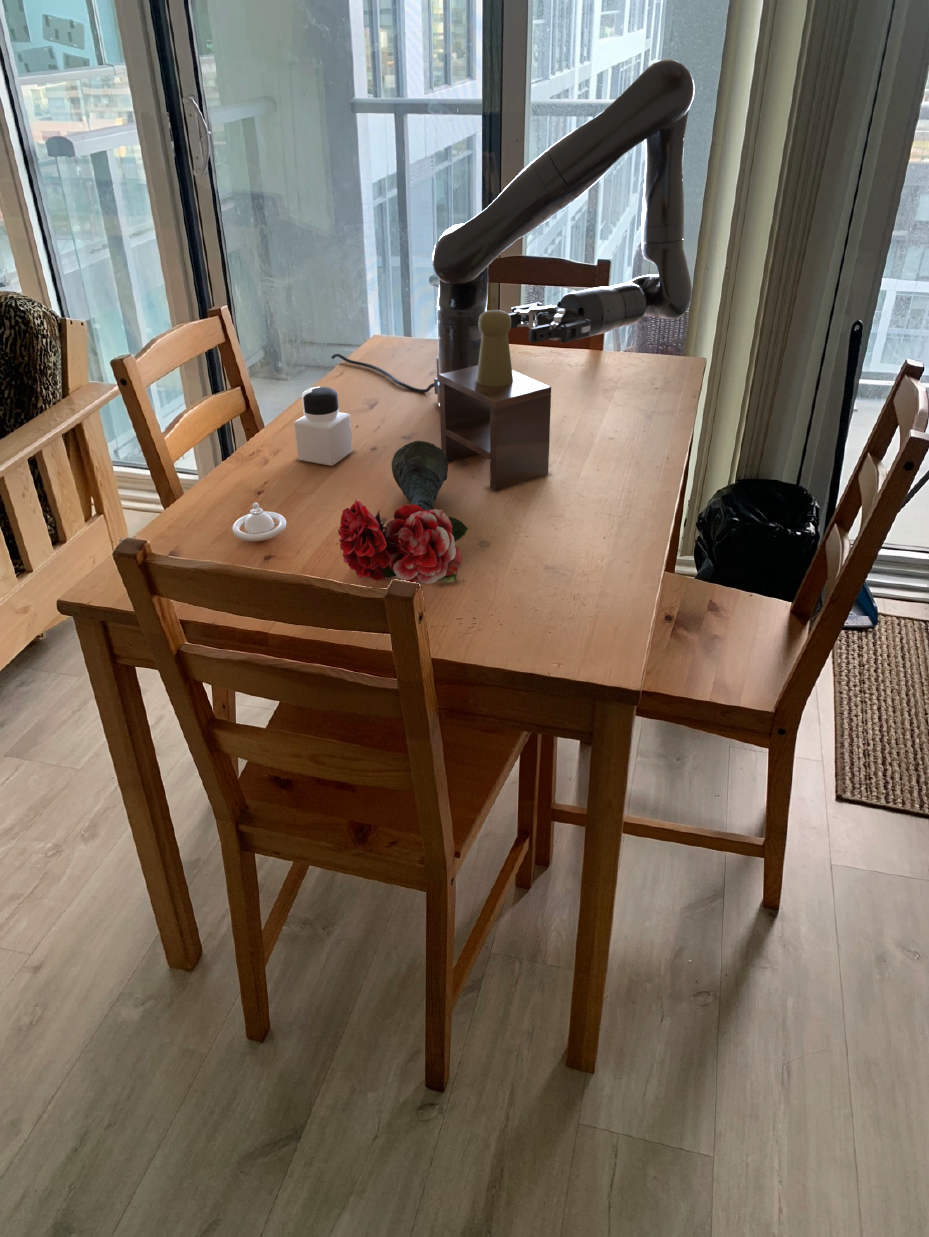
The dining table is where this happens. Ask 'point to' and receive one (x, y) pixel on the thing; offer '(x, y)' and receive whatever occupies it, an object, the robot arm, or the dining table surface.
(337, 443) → the medicine bottle
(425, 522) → the carnation
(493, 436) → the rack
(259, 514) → the ring around a ball
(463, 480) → the dining table surface
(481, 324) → the cork
